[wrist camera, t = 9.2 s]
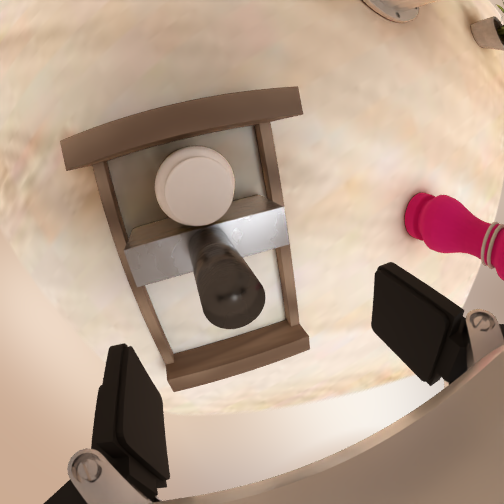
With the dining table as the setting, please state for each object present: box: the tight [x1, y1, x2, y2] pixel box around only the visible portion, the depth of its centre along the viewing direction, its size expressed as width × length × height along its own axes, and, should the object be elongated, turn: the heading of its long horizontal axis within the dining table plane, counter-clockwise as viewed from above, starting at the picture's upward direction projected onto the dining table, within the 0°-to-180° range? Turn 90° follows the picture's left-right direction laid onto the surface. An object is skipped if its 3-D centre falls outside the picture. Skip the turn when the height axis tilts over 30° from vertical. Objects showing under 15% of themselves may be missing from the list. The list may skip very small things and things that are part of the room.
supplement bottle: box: [155, 146, 235, 226], centre depth 20 cm, size 5×5×10 cm
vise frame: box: [60, 87, 310, 392], centre depth 23 cm, size 27×16×8 cm, turn 11°
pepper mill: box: [405, 193, 504, 280], centre depth 25 cm, size 7×7×20 cm
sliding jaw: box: [124, 195, 289, 329], centre depth 19 cm, size 3×12×14 cm, turn 101°
